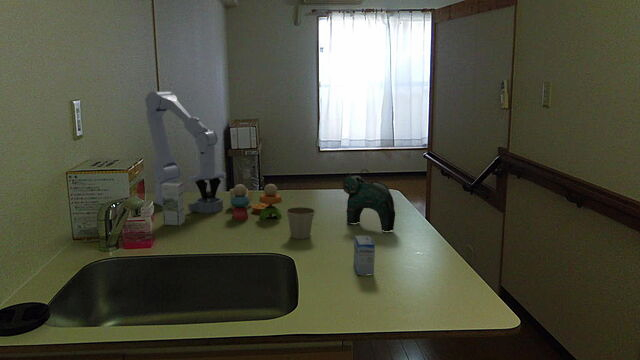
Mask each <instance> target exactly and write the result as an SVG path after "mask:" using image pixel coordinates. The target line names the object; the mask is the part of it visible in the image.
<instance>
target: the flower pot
mask: <svg viewBox="0 0 640 360" xmlns="http://www.w3.org/2000/svg"><path fill="white" fill-rule="evenodd" d="M285 212H286V214H287V217H288V225H289V232H290V233H289V234H290V237H291V238H293V239H297V240H299V239H302V240H304V238H306V239H308V237H309V238H310V237H311V231H312V224H313V220H314V219H313V217H314V216H315V214H316V210H315V208H313V207H304V206H296V207H290V208H289V207H288V208H287V209H285Z"/></svg>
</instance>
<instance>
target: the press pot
mask: <svg viewBox="0 0 640 360" xmlns="http://www.w3.org/2000/svg"><path fill="white" fill-rule="evenodd" d="M187 207H188V212H196V213H201V214H213V213H219V212H221V211H224V203H223V198H222V197H220V196H219V197H218V196H215V198H210V202H207V198H206V200H203V199H202V197H198V198H195V199H194V202H190V203H188V206H187Z"/></svg>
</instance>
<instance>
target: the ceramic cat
mask: <svg viewBox="0 0 640 360" xmlns="http://www.w3.org/2000/svg"><path fill="white" fill-rule="evenodd" d="M363 171H365V172H367V174H370V172H369V170H368V169H366V168H364V169H362V170H361V172H360V175H352V174H351V173H350V172H348V173H347V174H346V177H345V178H344V180H343V182H342V188H343V191H344V193H346V194H348V198H347V201H346V202H347V204H346V205H347V206H346V223H347V222H348V223H357V222H360V223H361V214H362V212H363V210H364V209H371V210H373V211H375V212H376V213H377V215H378V217H379V221H380V225H381V231H382V230H384V231H390V230H393V231H394V229H395V228H394V227H395V221H396V220H395V219H396V210H395V203H394V199H393V195H392V194H391V192H390V189H389V188H388V186H387V185H386V184H385V183H384V182H381V181H379V180H375V181H374V180H373V181H369V182H368V181H367V182H366V180H364V179H363V176H362V174H363V173H362V172H363Z"/></svg>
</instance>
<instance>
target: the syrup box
mask: <svg viewBox="0 0 640 360" xmlns="http://www.w3.org/2000/svg"><path fill="white" fill-rule="evenodd" d="M162 201H163V206H162V215H163V217H162V219H163V226H170V227H171V226H175V227H176V226H177V227H178V226H179V227H180V226H181V225H182V224H185V208H184V207H185V204H184V203H185V202H184V201H185V200H184V183H183V181H177V182H165V183H163V184H162Z"/></svg>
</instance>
